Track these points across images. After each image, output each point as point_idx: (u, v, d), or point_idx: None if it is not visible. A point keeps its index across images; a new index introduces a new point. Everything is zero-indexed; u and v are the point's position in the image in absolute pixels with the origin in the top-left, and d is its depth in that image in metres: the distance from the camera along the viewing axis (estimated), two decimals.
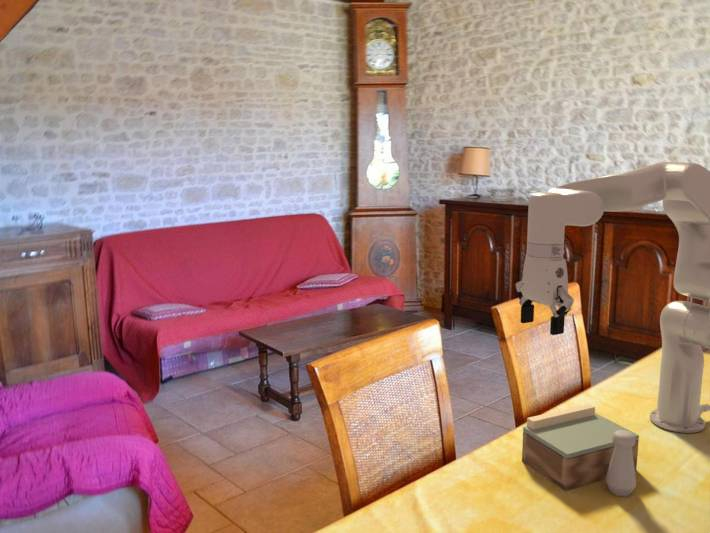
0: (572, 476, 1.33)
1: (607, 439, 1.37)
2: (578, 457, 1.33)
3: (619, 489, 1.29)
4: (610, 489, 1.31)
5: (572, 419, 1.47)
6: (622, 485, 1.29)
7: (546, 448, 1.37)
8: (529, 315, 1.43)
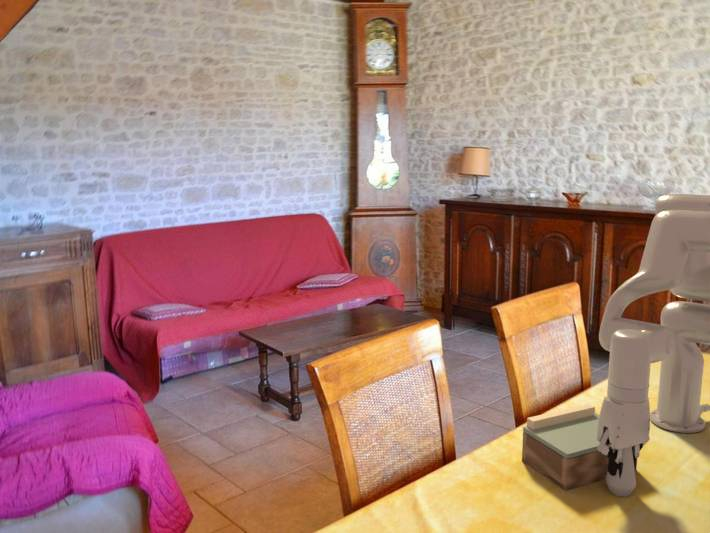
0: (572, 476, 1.33)
1: None
2: (578, 457, 1.33)
3: (619, 489, 1.29)
4: (610, 489, 1.31)
5: (572, 419, 1.47)
6: (622, 485, 1.29)
7: (546, 448, 1.37)
8: None
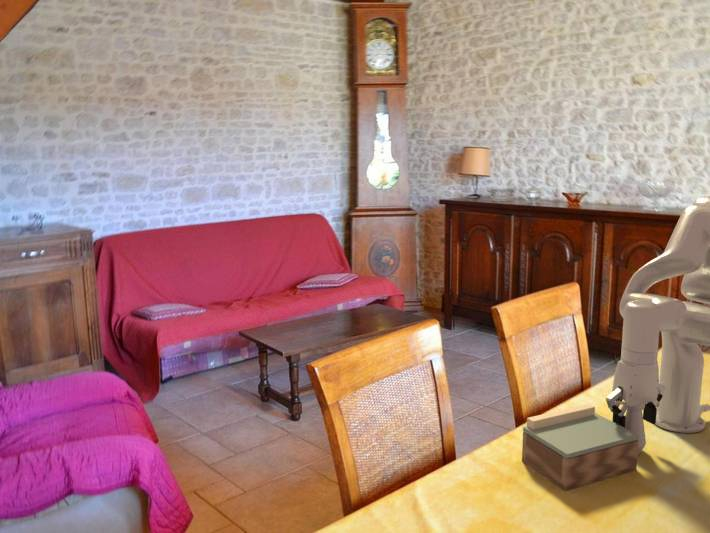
0: (572, 476, 1.33)
1: (607, 438, 1.37)
2: (578, 457, 1.33)
3: None
4: None
5: (572, 419, 1.47)
6: None
7: (546, 448, 1.37)
8: None
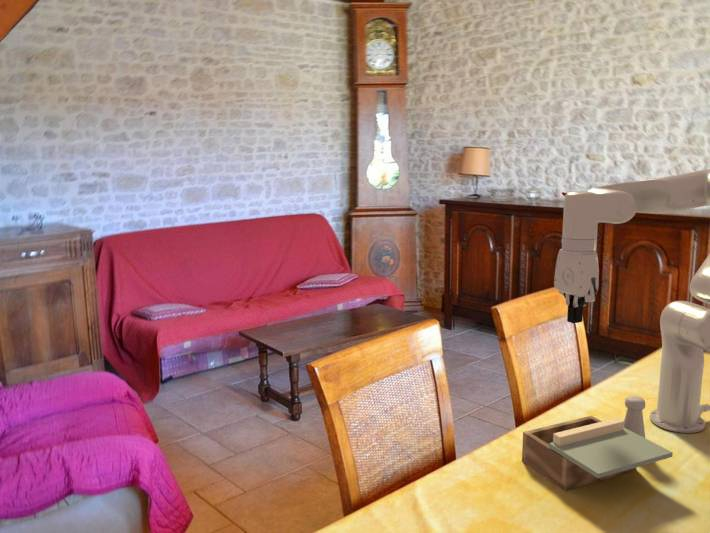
0: (572, 476, 1.33)
1: (639, 456, 1.30)
2: None
3: None
4: None
5: (600, 434, 1.39)
6: None
7: (546, 448, 1.37)
8: None
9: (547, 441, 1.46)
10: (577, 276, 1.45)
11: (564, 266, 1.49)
